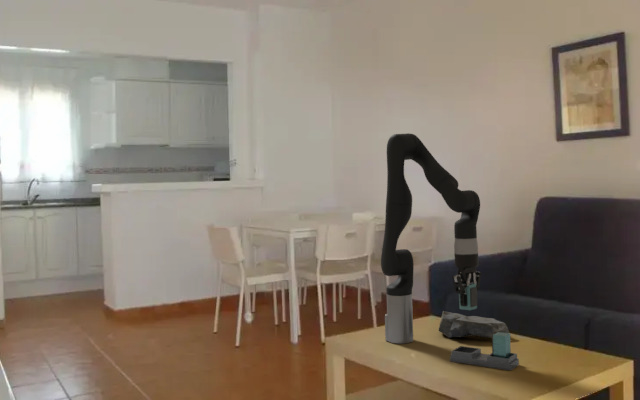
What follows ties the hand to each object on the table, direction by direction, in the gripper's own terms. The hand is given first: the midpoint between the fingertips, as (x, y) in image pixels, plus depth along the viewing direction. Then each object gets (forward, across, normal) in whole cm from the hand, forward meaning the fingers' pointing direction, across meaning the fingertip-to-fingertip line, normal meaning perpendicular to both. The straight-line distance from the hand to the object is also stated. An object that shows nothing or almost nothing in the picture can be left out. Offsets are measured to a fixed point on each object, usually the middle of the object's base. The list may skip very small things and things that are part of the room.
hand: (468, 304), depth 219 cm
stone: (+18, +28, +16) cm, 37 cm away
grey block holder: (+18, -1, -6) cm, 19 cm away
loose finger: (+1, 0, 0) cm, 1 cm away
